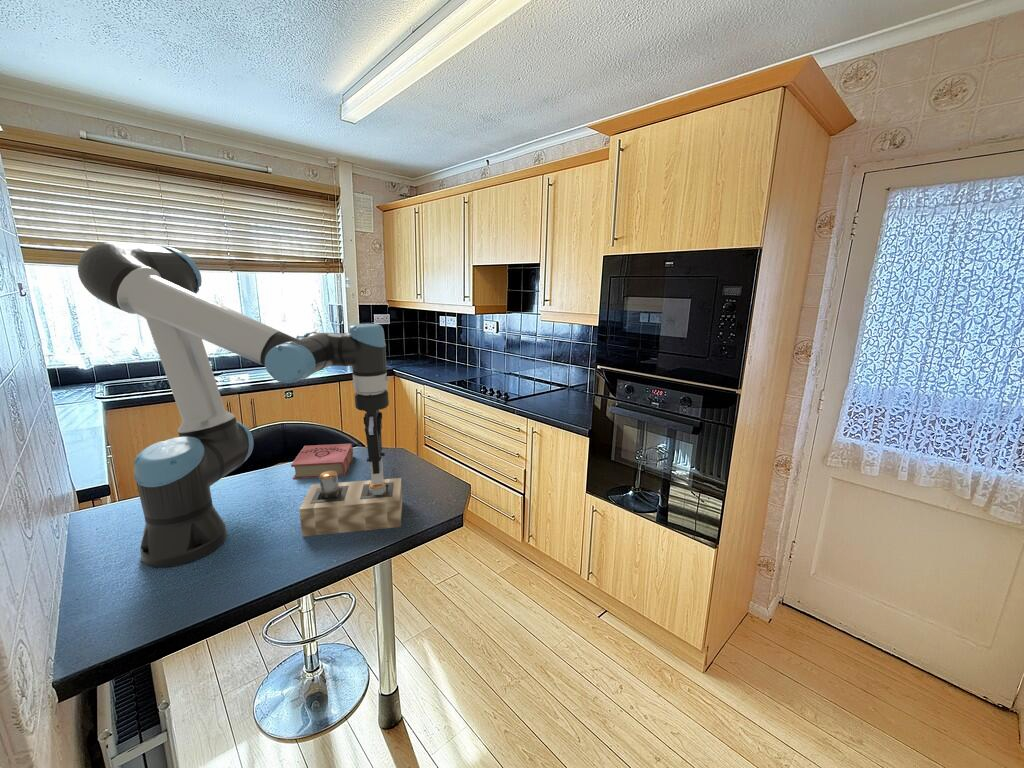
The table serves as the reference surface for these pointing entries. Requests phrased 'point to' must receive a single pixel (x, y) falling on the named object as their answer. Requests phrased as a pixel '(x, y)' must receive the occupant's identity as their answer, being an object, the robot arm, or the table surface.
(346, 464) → the book
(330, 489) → the peg left
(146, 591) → the table surface
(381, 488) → the peg right
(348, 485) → the block
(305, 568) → the table surface
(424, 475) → the table surface
